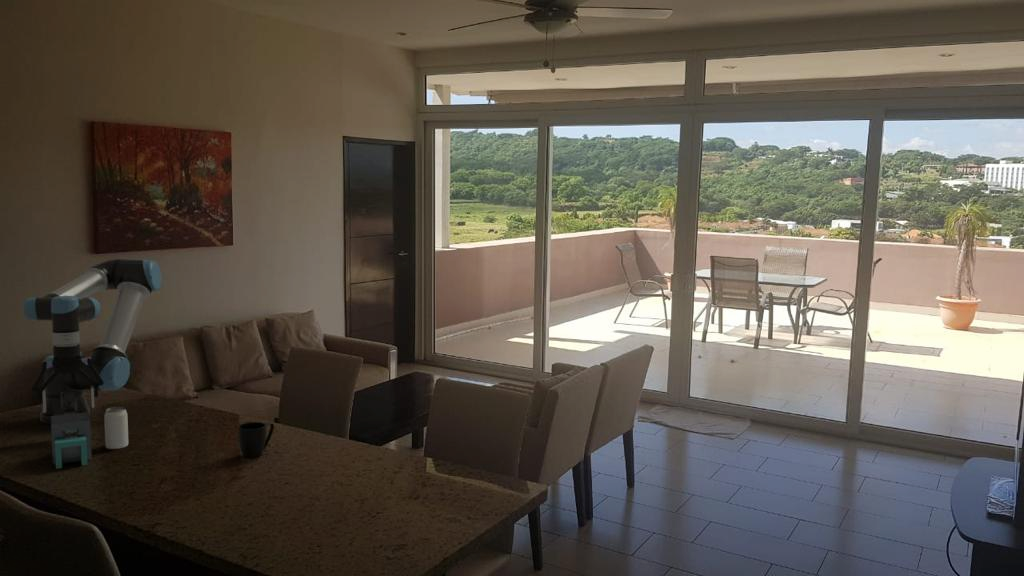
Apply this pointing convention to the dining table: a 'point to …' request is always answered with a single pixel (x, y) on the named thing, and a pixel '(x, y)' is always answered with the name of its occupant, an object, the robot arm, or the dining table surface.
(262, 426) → the mug
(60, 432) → the housing
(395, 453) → the dining table surface
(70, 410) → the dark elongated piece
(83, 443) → the block
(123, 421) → the can
